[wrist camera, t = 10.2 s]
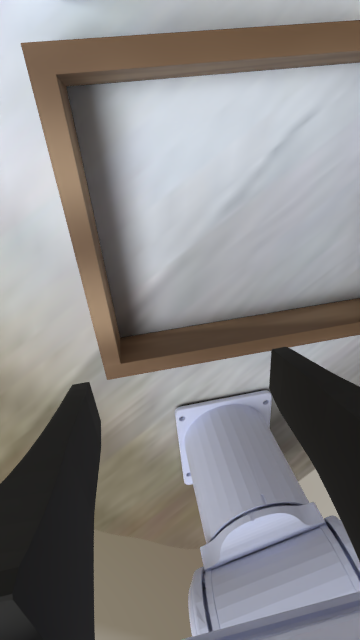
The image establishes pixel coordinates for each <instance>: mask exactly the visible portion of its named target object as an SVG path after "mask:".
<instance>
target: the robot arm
mask: <svg viewBox="0 0 360 640" xmlns="http://www.w3.org/2000/svg"><path fill="white" fill-rule="evenodd" d="M269 389H270V391H271V393H270V392H269V391H268V390H264V391H259V392H254V393H249V394H243V395H238V396H233V397H228V398H223V399H217V400H212V401H207V402H202V403H197V404H191V405H186V406H181V407H178V408H177V409H176V410H175V418H176V425H177V433H178V440H179V448H180V455H181V463H182V470H183V478H184V483H185V484H187V485H190V484H193V486H194V490H195V495H196V499H197V504H198V508H199V512H200V517H201V521H202V526H203V530H204V535H205V539H206V543H207V544H206V545H204V546H202V547H201V548H200V551H201V556H202V560H203V565H204V567H201V568H199V569H197V570H196V571H195V572H194V575H193V579H192V583H191V586H190V589H189V597H188V601H189V602H188V604H189V617H190V625H191V631H192V637H189V638H186V639H182V640H360V387H359V386H357V385H355V384H353V383H351V382H349V381H347V380H345V379H343V378H341V377H339V376H337V375H335V374H333V373H332V372H330V371H328V370H326V369H324V368H323V367H321V366H319V365H317V364H316V363H314V362H312V361H311V360H309V359H307V358H305V357H304V356H302V355H300V354H299V353H297V352H295V351H293V350H292V349H290V348H288V347H281V348H276V349H272V352H271V369H270V385H269ZM271 394H272V395H271ZM272 396H273V398H274V400H275V402H276V404H277V407H278V409H279V411H280V412H281V414H282V416H283V417H284V419H285V420H286V422H287V424H288V425H289V427H290V428H291V430H292V431H293V433H294V435H295V436H296V438H297V439H298V441H299V442H300V444H301V445H302V447H303V449H304V450H305V452H306V453H307V455H308V456H309V458H310V460H311V461H312V463H313V465H314V467H315V468H316V470H317V472H318V474H319V476H320V478H321V480H322V482H323V484H324V486H325V488H326V490H327V492H328V494H329V496H330V498H331V500H332V502H333V504H334V506H335V508H336V510H337V513H338V515H339V517H340V519H341V520H339V519H338V518H337V517H336V516H329V517H326V518H325V519H323V517H322V515H321V514H320V512H319V510H318V508H317V506H316V505H315V503H314V502H311V503H309V501H308V499H307V498H306V496H305V494H304V492H303V490H302V488H301V487H300V485H299V483H298V481H297V479H296V477H295V475H294V473H293V472H292V470H291V468H290V466H289V464H288V462H287V460H286V459H285V457H284V455H283V453H282V451H281V449H280V447H279V446H278V444H277V442H276V440H275V438H274V436H273V434H272V433H271V431H270V416H271V401H272ZM265 400H266V401H265ZM180 417H182V418H180ZM100 452H101V420H100V417H99V413H98V410H97V407H96V403H95V400H94V396H93V393H92V390H91V386H90V383H89V382H86V383H80V384H75V385H72V386H71V388H70V389H69V391H68V393H67V394H66V396H65V398H64V399H63V401H62V403H61V404H60V406H59V408H58V409H57V411H56V413H55V414H54V416H53V417H52V419H51V420H50V422H49V423H48V425H47V426H46V428H45V429H44V431H43V432H42V433H41V435H40V436H39V438H38V439H37V440H36V442H35V443H34V444H33V446H32V447H31V449H30V450H29V451H28V452H27V454H26V455H25V456H24V457H23V459H22V460H21V461H20V462H19V464H18V465H17V466H16V467H15V468H14V469H13V471H12V472H11V473H10V474H9V475H8V476H7V478H6V479H5V480H4V481H3V482H2V483H1V484H0V640H95V633H94V581H93V580H94V574H93V573H94V569H93V568H94V567H93V563H94V551H93V550H94V549H93V547H94V546H93V545H94V541H93V540H94V510H95V499H96V490H97V480H98V471H99V462H100ZM324 520H325V521H324Z"/></svg>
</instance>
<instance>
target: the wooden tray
mask: <svg viewBox="0 0 360 640" xmlns="http://www.w3.org/2000/svg"><path fill="white" fill-rule="evenodd" d="M21 46H22V50H23V54H24V58H25V62H26V66H27V70H28V74H29V78H30V81H31V85H32V89H33V93H34V97H35V101H36V105H37V109H38V113H39V116H40V120H41V124H42V128H43V132H44V136H45V140H46V144H47V148H48V151H49V155H50V159H51V163H52V167H53V171H54V175H55V179H56V183H57V186H58V190H59V194H60V198H61V202H62V206H63V210H64V214H65V218H66V222H67V225H68V229H69V233H70V237H71V241H72V245H73V249H74V253H75V257H76V260H77V264H78V268H79V272H80V276H81V280H82V284H83V288H84V292H85V295H86V299H87V303H88V307H89V311H90V315H91V319H92V323H93V327H94V330H95V334H96V338H97V342H98V346H99V350H100V354H101V358H102V362H103V365H104V369H105V373H106V377H107V380H109V379H115V378H120V377H126V376H132V375H137V374H143V373H148V372H154V371H159V370H165V369H171V368H176V367H182V366H187V365H193V364H199V363H204V362H210V361H215V360H221V359H226V358H232V357H238V356H243V355H249V354H254V353H260V352H265V351H271V350H272V349H276V348H281V347H293V346H299V345H305V344H310V343H316V342H321V341H327V340H332V339H338V338H344V337H349V336H355V335H360V298H358V299H352V300H346V301H340V302H334V303H328V304H322V305H316V306H310V307H304V308H297V309H291V310H285V311H279V312H273V313H267V314H261V315H255V316H249V317H243V318H237V319H231V320H225V321H219V322H213V323H207V324H201V325H195V326H189V327H183V328H177V329H171V330H165V331H159V332H153V333H147V334H141V335H135V336H129V337H123V338H120V335H119V330H118V326H117V321H116V316H115V312H114V307H113V302H112V298H111V293H110V288H109V284H108V279H107V274H106V270H105V265H104V260H103V256H102V251H101V246H100V242H99V237H98V232H97V228H96V223H95V218H94V214H93V209H92V204H91V200H90V195H89V190H88V186H87V181H86V176H85V172H84V167H83V162H82V158H81V153H80V148H79V144H78V139H77V134H76V129H75V125H74V120H73V115H72V111H71V106H70V101H69V97H68V92H67V87H68V86H80V85H92V84H104V83H116V82H128V81H140V80H152V79H165V78H177V77H189V76H201V75H213V74H225V73H237V72H250V71H262V70H274V69H286V68H298V67H310V66H322V65H334V64H347V63H359V62H360V20H354V21H340V22H325V23H310V24H295V25H280V26H265V27H251V28H236V29H221V30H206V31H191V32H176V33H162V34H147V35H132V36H117V37H102V38H87V39H73V40H58V41H43V42H28V43H21Z"/></svg>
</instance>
